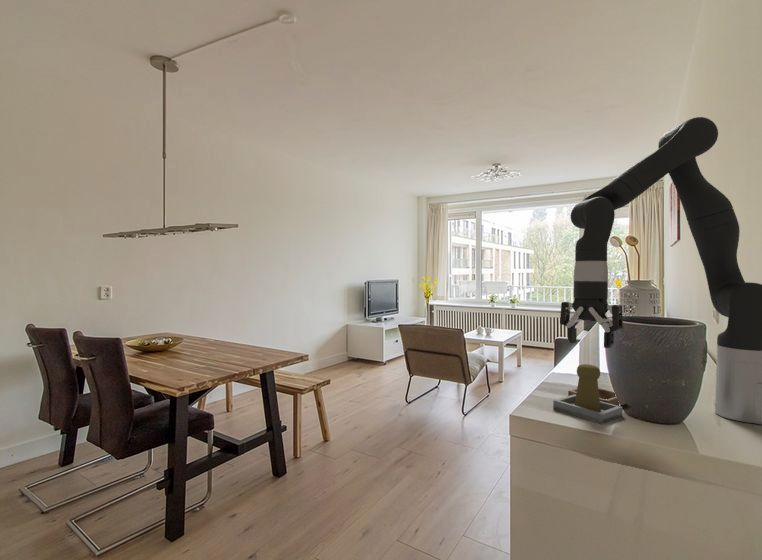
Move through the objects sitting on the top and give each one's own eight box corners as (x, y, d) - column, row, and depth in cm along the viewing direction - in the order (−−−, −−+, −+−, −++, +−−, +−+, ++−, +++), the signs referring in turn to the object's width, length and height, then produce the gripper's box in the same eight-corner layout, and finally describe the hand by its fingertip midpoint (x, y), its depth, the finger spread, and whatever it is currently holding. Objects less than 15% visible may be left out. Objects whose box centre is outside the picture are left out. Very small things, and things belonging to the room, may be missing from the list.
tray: (622, 416, 96) (622, 407, 96) (601, 423, 91) (602, 414, 91) (574, 402, 106) (574, 394, 106) (553, 408, 101) (553, 400, 101)
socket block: (626, 404, 106) (626, 394, 106) (607, 410, 100) (608, 401, 100) (587, 394, 115) (588, 385, 115) (568, 399, 109) (568, 390, 109)
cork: (606, 413, 95) (607, 368, 95) (580, 412, 96) (582, 367, 95) (593, 405, 101) (594, 362, 101) (569, 404, 102) (570, 362, 102)
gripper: (628, 280, 94) (627, 348, 95) (570, 279, 106) (569, 340, 106) (613, 280, 90) (612, 351, 90) (555, 279, 102) (554, 342, 102)
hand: (589, 345), depth 98 cm, fingers open, 8 cm apart
